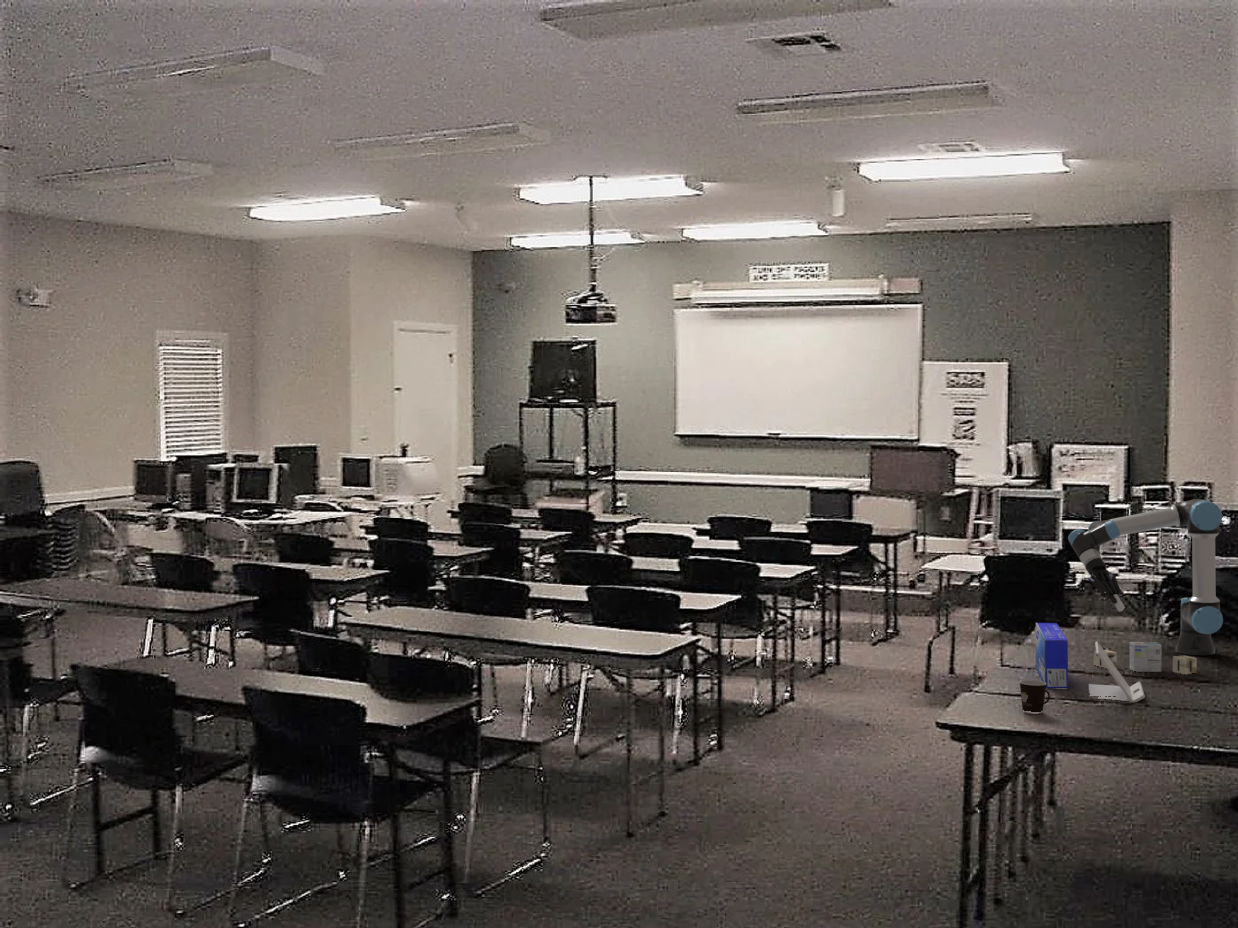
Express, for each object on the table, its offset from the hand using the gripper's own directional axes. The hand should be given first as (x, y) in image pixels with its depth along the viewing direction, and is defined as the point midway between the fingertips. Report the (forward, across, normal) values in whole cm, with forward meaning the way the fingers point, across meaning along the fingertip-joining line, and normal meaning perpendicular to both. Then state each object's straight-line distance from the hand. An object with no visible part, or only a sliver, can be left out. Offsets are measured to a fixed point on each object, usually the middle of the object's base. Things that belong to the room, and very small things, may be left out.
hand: (1121, 609), depth 536 cm
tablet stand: (+46, +43, +15) cm, 65 cm away
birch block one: (+32, -10, +1) cm, 33 cm away
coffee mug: (+55, +91, +25) cm, 109 cm away
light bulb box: (+25, 0, -6) cm, 26 cm away
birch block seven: (+17, +9, -14) cm, 24 cm away
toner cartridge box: (+25, +46, -6) cm, 53 cm away
